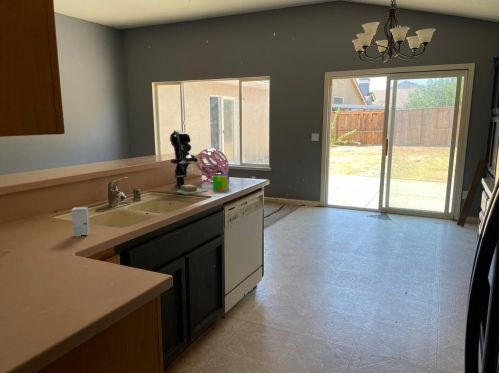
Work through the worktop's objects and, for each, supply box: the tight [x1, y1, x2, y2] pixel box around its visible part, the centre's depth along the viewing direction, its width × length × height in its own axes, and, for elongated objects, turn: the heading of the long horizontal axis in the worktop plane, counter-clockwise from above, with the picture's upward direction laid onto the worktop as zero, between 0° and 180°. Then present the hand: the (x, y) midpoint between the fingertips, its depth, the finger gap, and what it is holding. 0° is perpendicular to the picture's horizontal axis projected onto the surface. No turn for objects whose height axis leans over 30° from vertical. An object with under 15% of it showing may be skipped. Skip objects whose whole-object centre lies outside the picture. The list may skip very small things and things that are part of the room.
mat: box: [175, 187, 209, 196], centre depth 252 cm, size 14×18×1 cm
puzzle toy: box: [212, 173, 230, 191], centre depth 259 cm, size 10×10×10 cm
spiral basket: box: [194, 148, 230, 184], centre depth 288 cm, size 28×28×27 cm
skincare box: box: [71, 206, 91, 237], centre depth 157 cm, size 6×4×12 cm
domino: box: [180, 184, 198, 192], centre depth 254 cm, size 3×7×10 cm
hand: (184, 172), depth 260 cm, fingers closed
